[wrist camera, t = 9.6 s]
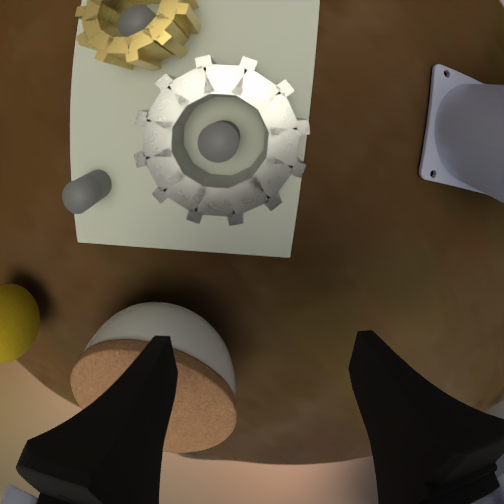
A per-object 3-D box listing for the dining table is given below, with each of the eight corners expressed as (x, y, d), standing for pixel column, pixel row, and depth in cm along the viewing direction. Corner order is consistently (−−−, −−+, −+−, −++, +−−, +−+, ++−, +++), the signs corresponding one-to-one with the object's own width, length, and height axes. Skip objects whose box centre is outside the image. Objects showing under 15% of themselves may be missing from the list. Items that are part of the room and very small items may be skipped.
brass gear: (210, -12, 13) (201, -40, 9) (189, 74, 15) (173, 64, 11) (119, -13, 12) (91, -35, 8) (98, 69, 14) (64, 63, 11)
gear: (305, 72, 15) (317, 65, 12) (289, 212, 18) (297, 231, 16) (155, 63, 15) (138, 56, 12) (150, 202, 18) (134, 219, 15)
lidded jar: (89, 335, 24) (46, 419, 16) (146, 246, 21) (91, 337, 12) (190, 395, 27) (178, 483, 19) (267, 328, 24) (277, 433, 15)
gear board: (317, -23, 13) (337, -55, 9) (287, 249, 21) (298, 288, 16) (95, -20, 12) (60, -43, 8) (85, 235, 20) (51, 267, 16)
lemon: (-1, 268, 21) (-54, 319, 14) (41, 265, 21) (-16, 324, 14) (21, 320, 24) (-21, 376, 16) (63, 321, 23) (22, 387, 16)
